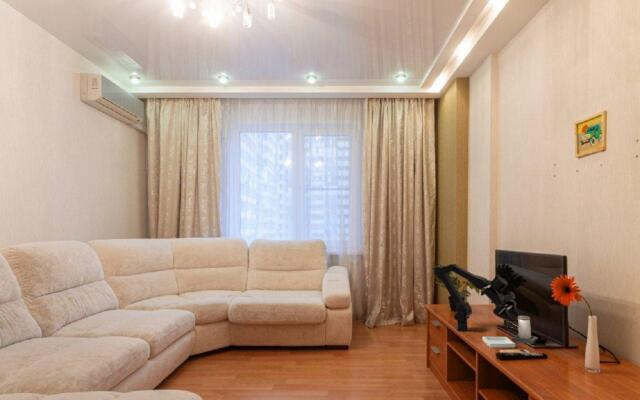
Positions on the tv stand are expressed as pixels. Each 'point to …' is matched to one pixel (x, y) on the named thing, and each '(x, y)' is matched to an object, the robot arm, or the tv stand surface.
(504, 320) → the door stopper
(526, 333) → the stop cylinder
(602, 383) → the tv stand surface
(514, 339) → the collar
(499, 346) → the tray
